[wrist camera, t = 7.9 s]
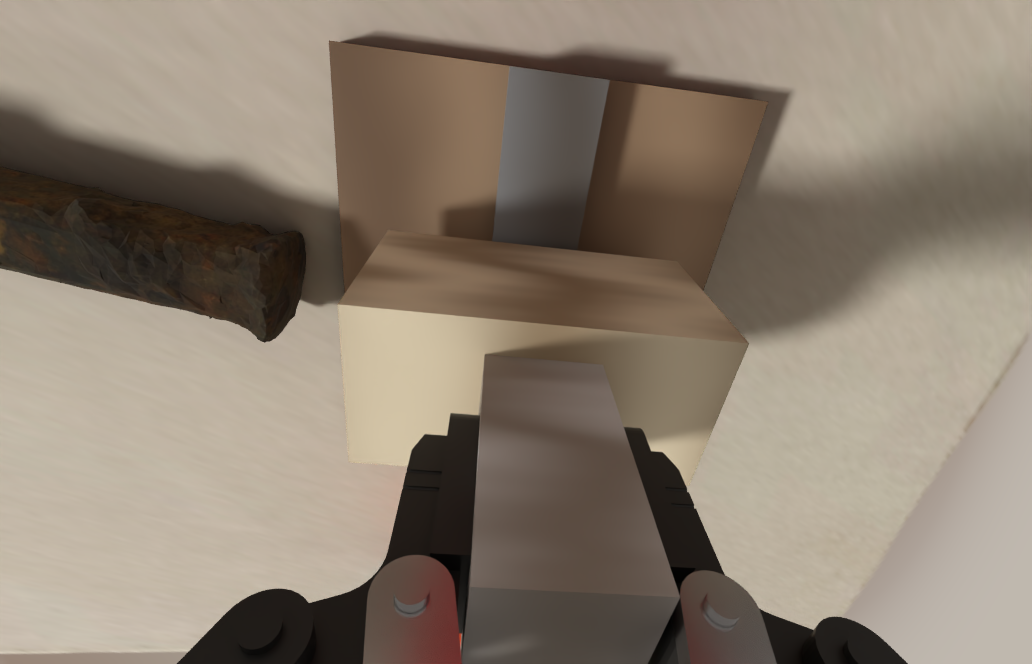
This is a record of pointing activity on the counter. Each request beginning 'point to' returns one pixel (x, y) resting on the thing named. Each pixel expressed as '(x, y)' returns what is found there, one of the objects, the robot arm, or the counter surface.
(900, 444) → the counter surface
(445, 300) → the jaw
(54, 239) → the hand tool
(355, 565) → the counter surface
